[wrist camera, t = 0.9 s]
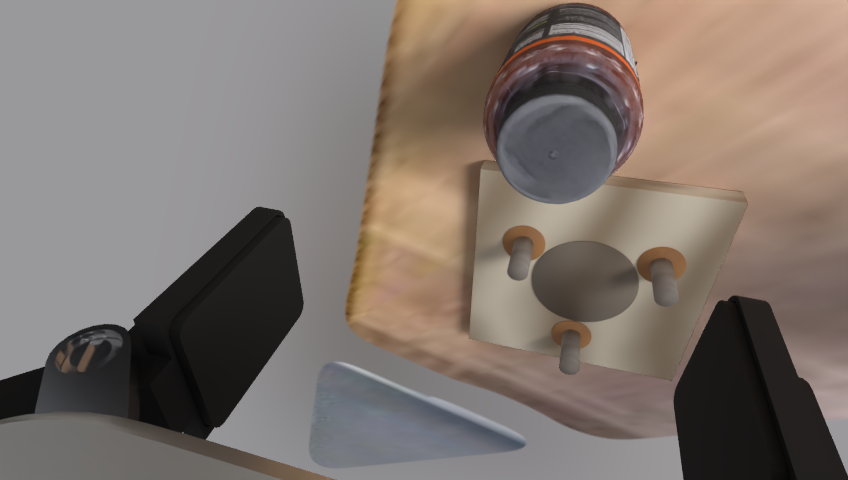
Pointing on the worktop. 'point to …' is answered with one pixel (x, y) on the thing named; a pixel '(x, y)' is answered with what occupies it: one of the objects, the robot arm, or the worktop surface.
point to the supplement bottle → (565, 105)
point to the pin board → (599, 270)
